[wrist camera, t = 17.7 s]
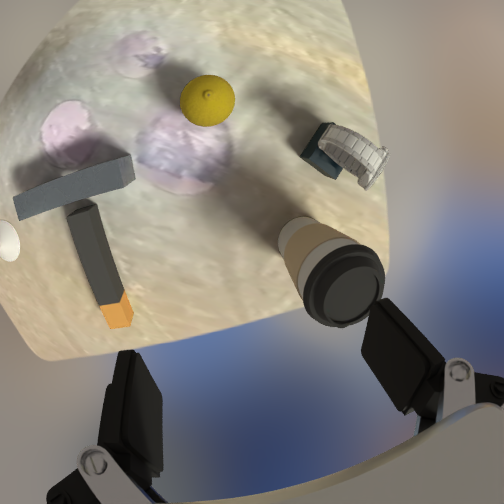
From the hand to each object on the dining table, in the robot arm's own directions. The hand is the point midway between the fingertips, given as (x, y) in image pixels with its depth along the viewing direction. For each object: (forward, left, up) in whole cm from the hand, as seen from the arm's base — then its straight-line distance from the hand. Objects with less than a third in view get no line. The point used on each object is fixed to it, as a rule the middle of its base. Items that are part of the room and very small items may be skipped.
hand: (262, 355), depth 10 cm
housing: (-6, -16, -25) cm, 31 cm away
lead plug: (+5, -16, -25) cm, 31 cm away
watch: (-5, +15, -25) cm, 30 cm away
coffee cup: (+7, +11, -25) cm, 28 cm away
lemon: (-12, +1, -25) cm, 28 cm away
